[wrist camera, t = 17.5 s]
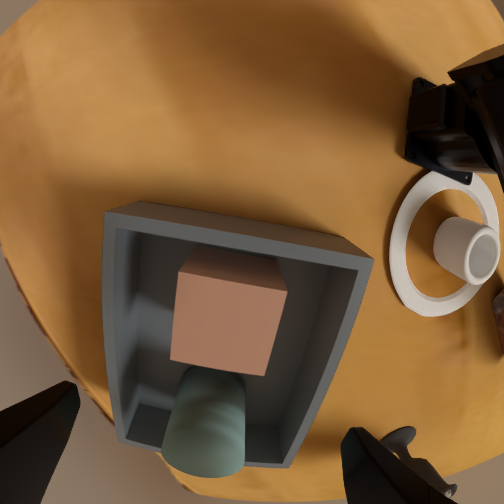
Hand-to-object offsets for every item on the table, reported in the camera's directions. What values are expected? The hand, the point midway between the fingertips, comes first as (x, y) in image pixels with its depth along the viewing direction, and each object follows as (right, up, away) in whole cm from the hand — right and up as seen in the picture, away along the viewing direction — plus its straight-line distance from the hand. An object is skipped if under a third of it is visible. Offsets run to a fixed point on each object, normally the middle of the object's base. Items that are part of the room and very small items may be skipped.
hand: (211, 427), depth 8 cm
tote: (-1, -1, +13) cm, 13 cm away
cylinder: (-2, -5, +13) cm, 14 cm away
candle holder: (+17, +6, +12) cm, 21 cm away
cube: (0, +3, +11) cm, 11 cm away
